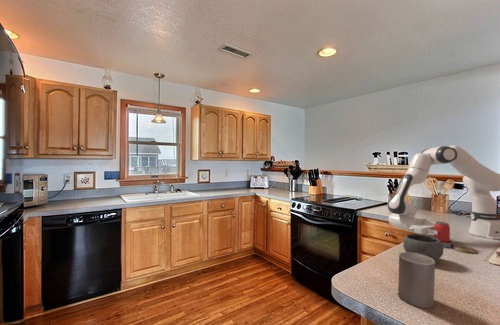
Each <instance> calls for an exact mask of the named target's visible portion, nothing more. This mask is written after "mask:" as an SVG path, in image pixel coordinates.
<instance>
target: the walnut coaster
mask: <svg viewBox="0 0 500 325" xmlns="http://www.w3.org/2000/svg"><path fill="white" fill-rule="evenodd" d="M452 249H454V251H457V252H461V253H463V254H464V253H465V254H472V255H473V254H474V255H475V254H476V255H477V253H478V250H477V249H475V248H473V247H469V246H463V245H454V247H453V248H452Z"/></svg>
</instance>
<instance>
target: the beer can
mask: <svg viewBox="0 0 500 325" xmlns="http://www.w3.org/2000/svg"><path fill="white" fill-rule="evenodd" d="M435 223H436V224H435V226H434V230H436V231H439V234H433V237H434V238H436V239H439V240H440V241H441V242H444V243H450V240H451V228H450V224H449V222H444V221H436V222H435Z"/></svg>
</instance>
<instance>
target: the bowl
mask: <svg viewBox="0 0 500 325" xmlns="http://www.w3.org/2000/svg"><path fill="white" fill-rule="evenodd" d="M433 237H434V236H431V235H430V236H429V235H427V234H417V233H411V234H406V235H405V236H404V237H403V244H402V246H403V249H404V252H412V253H418V254H422V255H425V256H428V257H430V258H432V259H433V260H434V261H435V262H436V261H438V260H440V258H442V256H443V255H444V247H443V245H442V243H441V241H440V240H439V239H436V238H433Z"/></svg>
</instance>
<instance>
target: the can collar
mask: <svg viewBox="0 0 500 325" xmlns="http://www.w3.org/2000/svg"><path fill="white" fill-rule="evenodd" d="M432 237H433V238H434V236H432ZM441 243H442V245H443V249H444V248H445V249H446V248H447V249H454V248H453V247H454V246H455V241H453V240H451V239H450V243H444V242H441Z"/></svg>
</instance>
